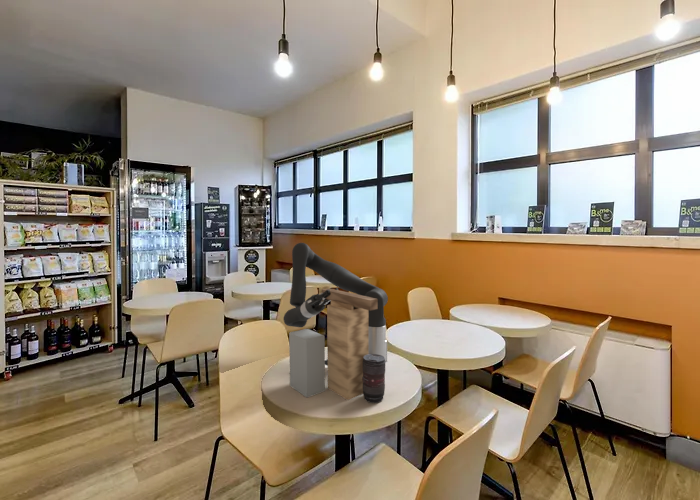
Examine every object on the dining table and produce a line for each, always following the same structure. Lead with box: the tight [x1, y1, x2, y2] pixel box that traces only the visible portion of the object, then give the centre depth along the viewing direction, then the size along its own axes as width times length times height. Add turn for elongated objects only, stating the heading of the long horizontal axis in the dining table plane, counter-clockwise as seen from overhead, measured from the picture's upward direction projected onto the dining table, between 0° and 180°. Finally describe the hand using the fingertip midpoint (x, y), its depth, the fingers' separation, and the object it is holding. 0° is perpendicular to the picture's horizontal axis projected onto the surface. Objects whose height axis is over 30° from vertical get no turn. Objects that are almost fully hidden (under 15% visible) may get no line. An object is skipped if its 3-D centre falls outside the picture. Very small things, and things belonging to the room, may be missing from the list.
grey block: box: [288, 328, 326, 398], centre depth 130 cm, size 8×12×21 cm, turn 40°
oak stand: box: [326, 300, 369, 401], centre depth 128 cm, size 10×12×34 cm
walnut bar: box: [318, 285, 378, 311], centre depth 128 cm, size 4×30×4 cm, turn 40°
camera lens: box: [362, 354, 386, 404], centre depth 122 cm, size 8×8×15 cm
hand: (333, 291), depth 133 cm, fingers closed on walnut bar, 3 cm apart
